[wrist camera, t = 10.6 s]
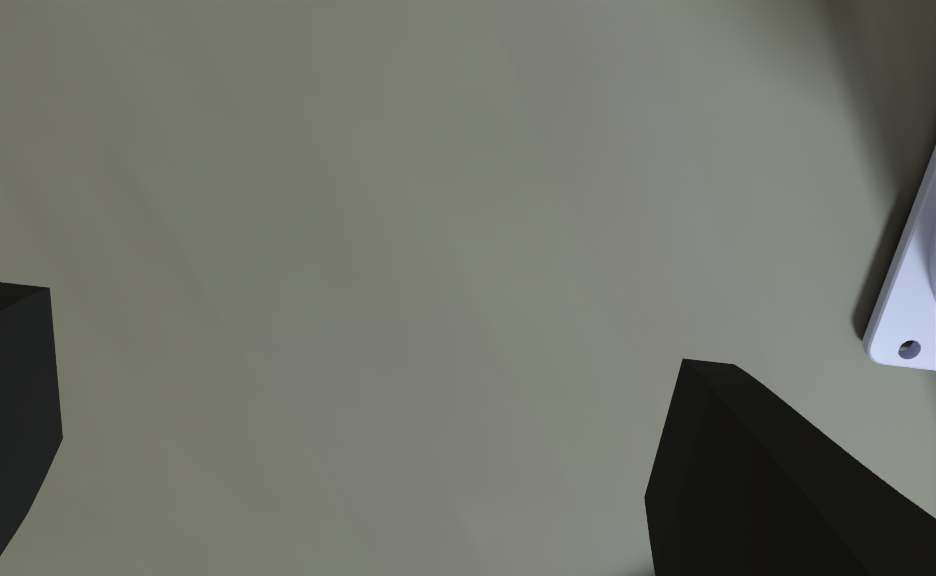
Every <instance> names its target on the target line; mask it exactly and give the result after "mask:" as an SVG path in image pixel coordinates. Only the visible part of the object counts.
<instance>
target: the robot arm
mask: <svg viewBox="0 0 936 576" xmlns="http://www.w3.org/2000/svg"><path fill="white" fill-rule="evenodd" d="M910 340H913V344H912V345H911V346H910V348H908V349H906V350H904V351H899V347H900V346H901V345H902V344H903V343H905V342H906V341H910ZM862 345H863V348H864V351H865V352H866V354H867V355H868V356H869V358H871V359H872V360H873V361H874V362H876V363H879V364H884V365H892V366H901V367H910V368H918V369H927V370H935V371H936V146H935V149H934V151H933V154H932V157H931V159H930V162H929V165H928V167H927V170H926V172H925V175H924V178H923V180H922V183H921V186H920V188H919V191H918V194H917V196H916V199H915V202H914V204H913V207H912V210H911V212H910V215H909V218H908V220H907V223H906V226H905V228H904V231H903V234H902V236H901V239H900V242H899V244H898V247H897V250H896V252H895V255H894V257H893V260H892V263H891V265H890V268H889V271H888V273H887V276H886V279H885V281H884V284H883V287H882V289H881V292H880V295H879V297H878V300H877V303H876V305H875V308H874V311H873V313H872V316H871V319H870V321H869V324H868V327H867V329H866V332H865V335H864V337H863V343H862ZM62 439H63V435H62V423H61V412H60V401H59V389H58V378H57V366H56V355H55V343H54V332H53V320H52V309H51V297H50V288H47V287H38V286H29V285H20V284H11V283H2V282H0V556H1V554H2V553H3V551H4V550H5V548H6V547H7V545H8V543H9V542H10V540H11V539H12V537H13V536H14V534H15V533H16V531H17V530H18V528H19V526H20V525H21V523H22V522H23V520H24V518H25V517H26V515H27V514H28V512H29V510H30V508H31V506H32V504H33V502H34V500H35V498H36V495H37V493H38V491H39V489H40V487H41V485H42V483H43V481H44V479H45V477H46V475H47V473H48V470H49V468H50V466H51V464H52V461H53V459H54V457H55V455H56V452H57V450H58V448H59V446H60V444H61V441H62ZM644 499H645V506H646V514H647V522H648V530H649V538H650V544H651V551H652V557H653V564H654V570H655V575H656V576H936V519H935V518H934V517H933V516H931V515H930V514H928V513H927V512H926V511H924V510H923V509H921V508H920V507H919V506H917V505H916V504H915V503H913V502H912V501H910V500H909V499H908V498H906V497H905V496H903V495H902V494H901V493H899V492H898V491H897V490H895V489H894V488H893V487H891V486H890V485H889V484H887V483H886V482H885V481H883V480H882V479H881V478H879V477H878V476H877V475H876V474H874V473H873V472H872V471H870V470H869V469H868V468H866V467H865V466H864V465H863V464H861V463H860V462H859V461H858V460H856V459H855V458H854V457H852V456H851V455H850V454H849V453H847V452H846V451H845V450H844V449H842V448H841V447H840V446H839V445H837V444H836V443H835V442H834V441H832V440H831V439H830V438H829V437H827V436H826V435H825V434H824V433H823V432H821V431H820V430H819V429H818V428H816V427H815V426H814V425H813V424H811V423H810V422H809V421H808V420H807V419H805V418H804V417H803V416H802V415H800V414H799V413H798V412H797V411H795V410H794V409H793V408H792V407H791V406H789V405H788V404H787V403H786V402H784V401H783V400H782V399H781V398H779V397H778V396H777V395H776V394H774V393H773V392H772V391H771V390H769V389H768V388H767V387H766V386H764V385H763V384H762V383H760V382H759V381H758V380H756V379H755V378H754V377H752V376H751V375H750V374H748V373H747V372H745V371H744V370H742V369H741V368H739V367H738V366H736V365H734V364H727V363H718V362H709V361H700V360H691V359H683V360H682V363H681V367H680V370H679V374H678V378H677V381H676V385H675V389H674V392H673V396H672V399H671V403H670V407H669V410H668V414H667V418H666V421H665V425H664V428H663V432H662V436H661V439H660V443H659V447H658V450H657V454H656V457H655V461H654V465H653V468H652V472H651V475H650V479H649V483H648V486H647V490H646V494H645V497H644Z"/></svg>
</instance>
